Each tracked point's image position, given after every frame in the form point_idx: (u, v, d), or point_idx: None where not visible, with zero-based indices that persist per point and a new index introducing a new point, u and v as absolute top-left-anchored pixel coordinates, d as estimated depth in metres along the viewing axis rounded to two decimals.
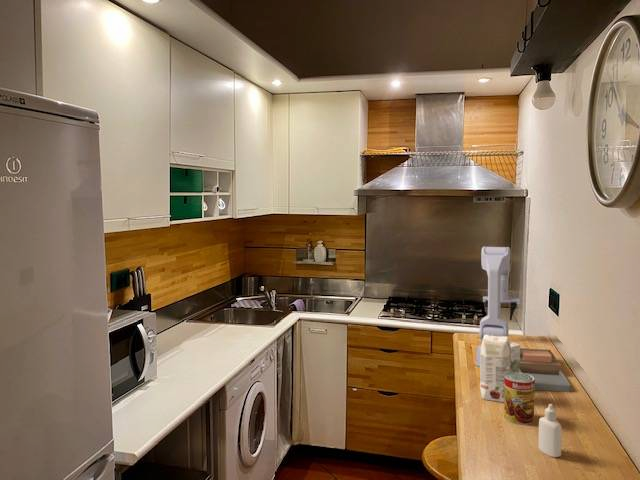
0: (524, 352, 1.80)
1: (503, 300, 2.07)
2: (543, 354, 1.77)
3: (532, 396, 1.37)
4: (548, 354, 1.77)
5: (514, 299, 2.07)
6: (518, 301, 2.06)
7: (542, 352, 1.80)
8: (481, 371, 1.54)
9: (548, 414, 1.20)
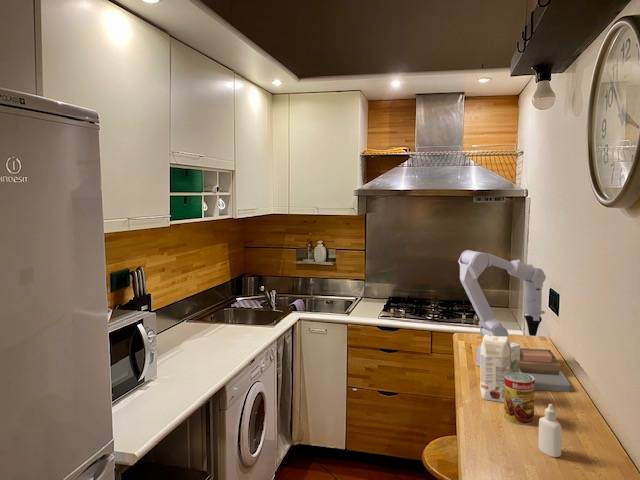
0: (524, 352, 1.80)
1: (525, 311, 1.85)
2: (543, 354, 1.77)
3: (532, 396, 1.37)
4: (548, 354, 1.77)
5: (535, 314, 1.80)
6: (533, 316, 1.79)
7: (542, 352, 1.80)
8: (481, 371, 1.54)
9: (548, 414, 1.20)
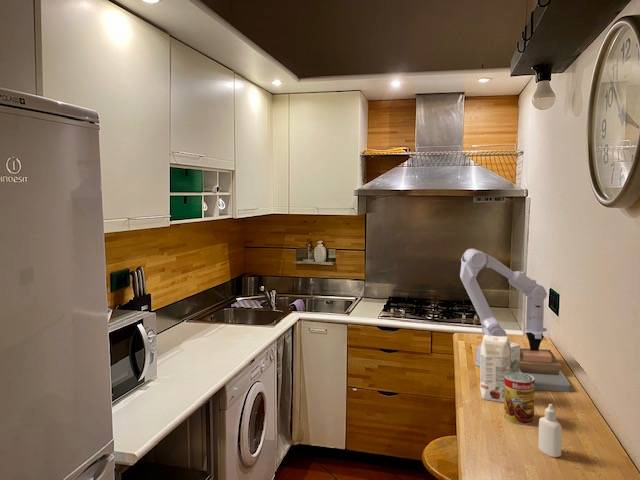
0: (524, 352, 1.80)
1: (527, 328, 1.81)
2: (543, 355, 1.77)
3: (532, 396, 1.37)
4: (548, 354, 1.77)
5: (537, 332, 1.77)
6: (535, 334, 1.76)
7: (542, 352, 1.80)
8: (481, 371, 1.54)
9: (548, 414, 1.20)
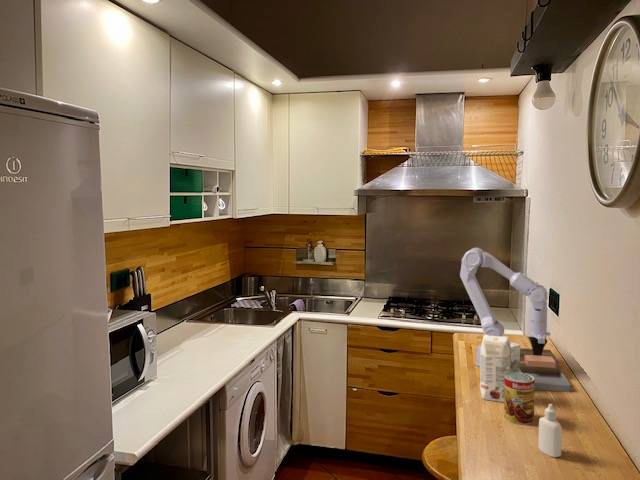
0: (527, 357, 1.74)
1: (530, 332, 1.76)
2: (547, 360, 1.71)
3: (532, 396, 1.37)
4: (552, 359, 1.71)
5: (540, 336, 1.71)
6: (538, 339, 1.70)
7: (546, 357, 1.74)
8: (481, 371, 1.54)
9: (548, 414, 1.20)
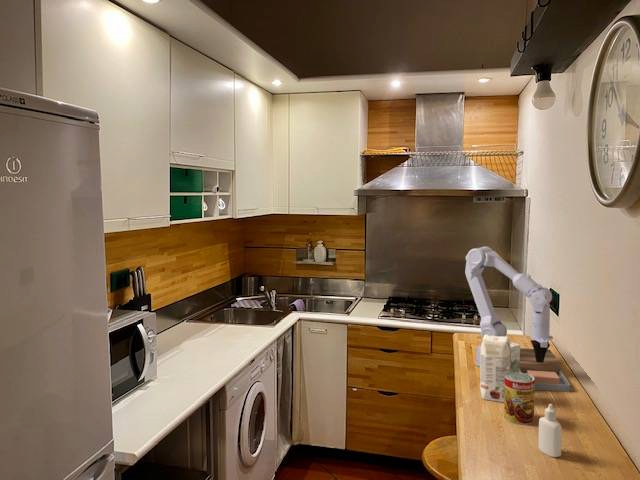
0: None
1: (532, 336, 1.71)
2: None
3: (532, 396, 1.37)
4: None
5: (542, 340, 1.67)
6: (540, 343, 1.66)
7: None
8: (481, 371, 1.54)
9: (548, 414, 1.20)
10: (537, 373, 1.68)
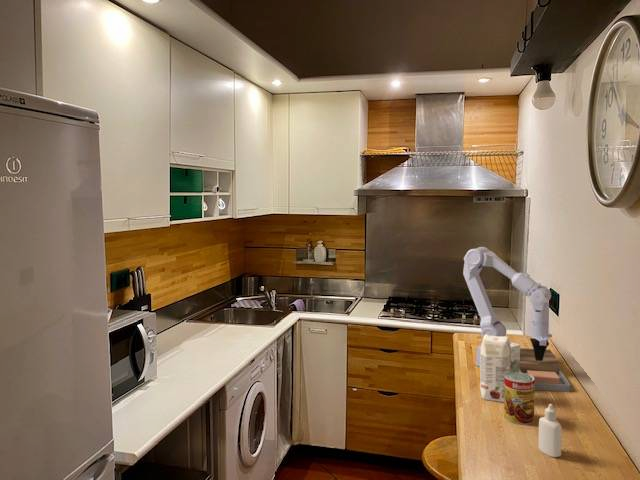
0: None
1: (531, 334, 1.73)
2: None
3: (532, 396, 1.37)
4: None
5: (541, 338, 1.68)
6: (539, 341, 1.67)
7: None
8: (481, 371, 1.54)
9: (548, 414, 1.20)
10: (537, 373, 1.68)
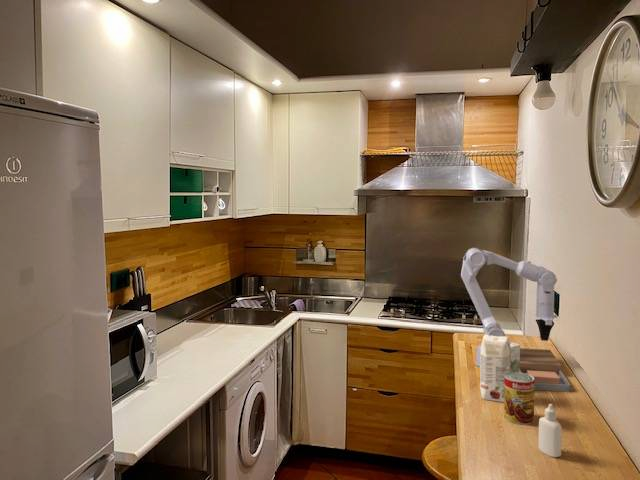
0: None
1: (537, 315, 1.78)
2: None
3: (532, 396, 1.37)
4: None
5: (547, 318, 1.74)
6: (545, 321, 1.73)
7: None
8: (481, 371, 1.54)
9: (548, 414, 1.20)
10: (537, 373, 1.68)
